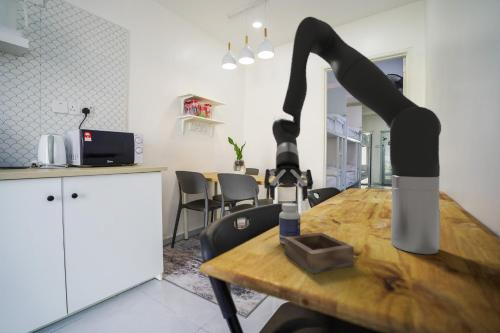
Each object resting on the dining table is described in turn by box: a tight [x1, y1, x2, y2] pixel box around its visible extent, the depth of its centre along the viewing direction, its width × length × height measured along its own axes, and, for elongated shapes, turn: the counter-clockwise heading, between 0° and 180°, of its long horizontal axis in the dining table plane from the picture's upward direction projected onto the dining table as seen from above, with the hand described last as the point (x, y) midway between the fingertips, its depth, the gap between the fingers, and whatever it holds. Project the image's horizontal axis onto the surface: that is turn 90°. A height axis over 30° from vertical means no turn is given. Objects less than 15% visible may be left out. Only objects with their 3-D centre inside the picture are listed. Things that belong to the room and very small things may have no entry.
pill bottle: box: [278, 202, 301, 245], centre depth 58 cm, size 5×5×10 cm
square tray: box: [283, 232, 355, 274], centre depth 48 cm, size 10×10×4 cm
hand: (288, 198), depth 64 cm, fingers open, 8 cm apart
